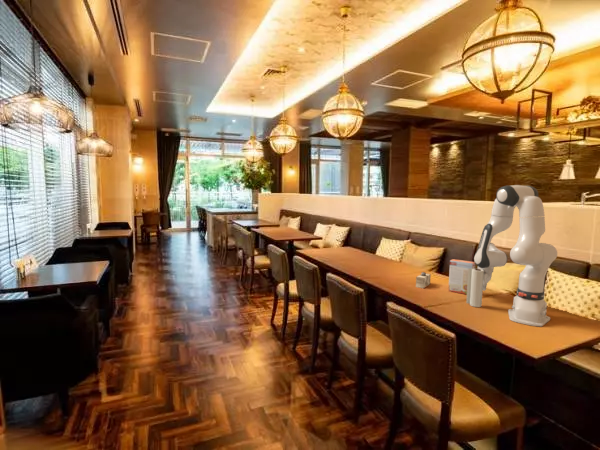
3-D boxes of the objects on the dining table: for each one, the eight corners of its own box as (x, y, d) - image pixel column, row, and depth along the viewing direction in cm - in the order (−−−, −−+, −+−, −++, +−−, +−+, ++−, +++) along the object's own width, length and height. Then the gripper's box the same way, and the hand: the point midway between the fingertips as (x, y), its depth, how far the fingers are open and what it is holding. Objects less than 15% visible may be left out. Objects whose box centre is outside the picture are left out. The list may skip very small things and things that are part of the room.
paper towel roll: (483, 307, 197) (486, 270, 194) (474, 307, 196) (476, 271, 193) (475, 303, 204) (477, 267, 201) (466, 303, 203) (468, 268, 200)
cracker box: (473, 293, 222) (475, 261, 219) (470, 295, 217) (472, 263, 215) (451, 289, 231) (453, 258, 229) (448, 291, 227) (449, 259, 224)
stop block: (423, 288, 232) (423, 275, 231) (415, 286, 236) (416, 274, 235) (430, 283, 243) (430, 271, 242) (423, 282, 246) (423, 270, 245)
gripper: (487, 272, 204) (485, 295, 205) (494, 266, 219) (492, 287, 221) (475, 270, 208) (474, 293, 209) (483, 264, 223) (481, 285, 225)
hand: (483, 290), depth 215 cm, fingers closed
